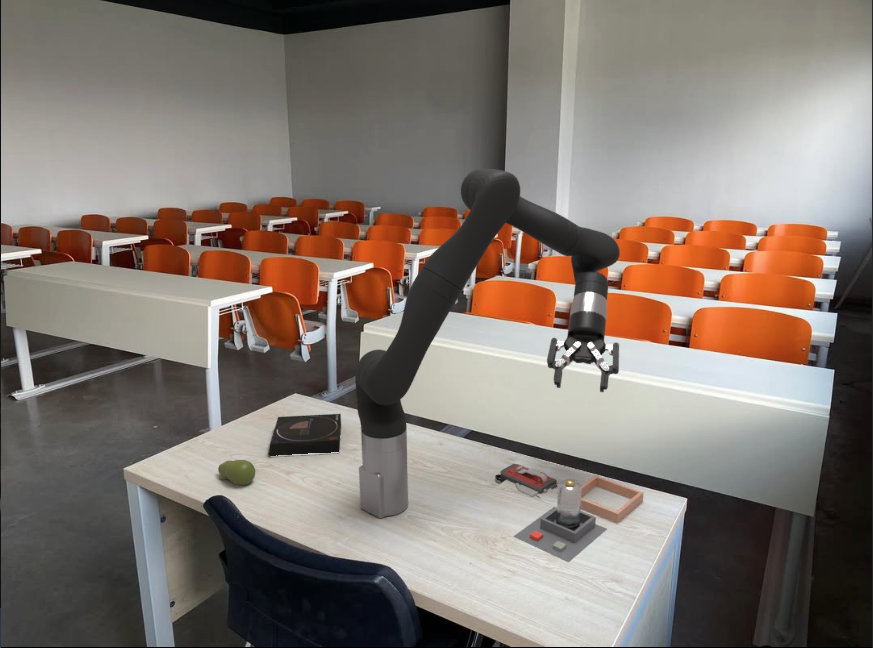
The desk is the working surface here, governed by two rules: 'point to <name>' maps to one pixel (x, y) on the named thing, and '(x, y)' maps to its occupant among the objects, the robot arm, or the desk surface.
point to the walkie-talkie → (527, 479)
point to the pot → (616, 488)
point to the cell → (569, 504)
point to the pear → (237, 471)
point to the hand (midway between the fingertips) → (579, 388)
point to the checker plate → (561, 535)
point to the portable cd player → (306, 435)
